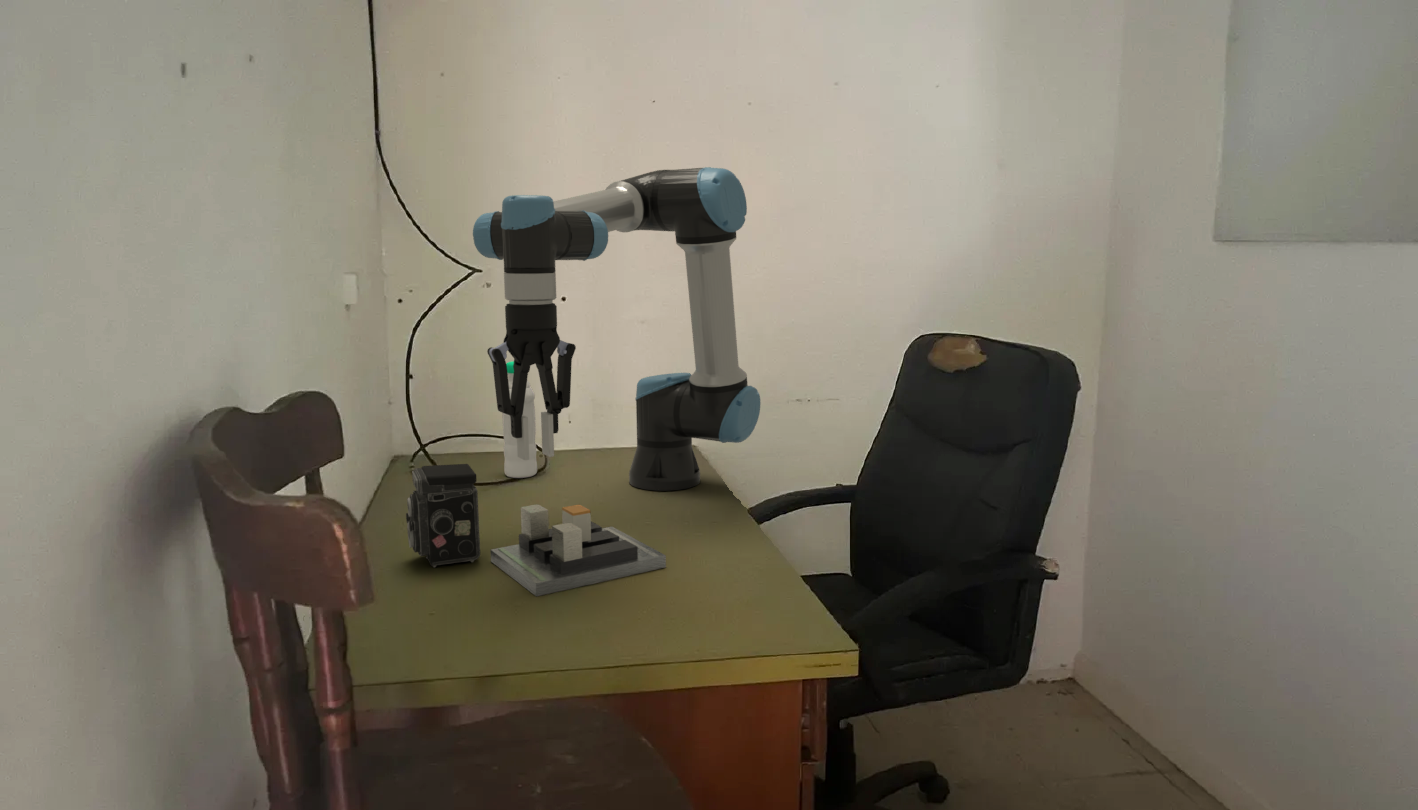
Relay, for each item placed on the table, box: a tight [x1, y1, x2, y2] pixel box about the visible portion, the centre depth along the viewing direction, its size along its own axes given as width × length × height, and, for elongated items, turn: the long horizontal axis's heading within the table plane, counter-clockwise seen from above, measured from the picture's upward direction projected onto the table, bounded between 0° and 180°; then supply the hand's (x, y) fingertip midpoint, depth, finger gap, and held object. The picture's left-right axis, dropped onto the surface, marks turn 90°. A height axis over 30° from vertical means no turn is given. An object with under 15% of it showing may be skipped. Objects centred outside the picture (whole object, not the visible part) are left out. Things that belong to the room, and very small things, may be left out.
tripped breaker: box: [561, 503, 592, 542], centre depth 149 cm, size 3×4×5 cm
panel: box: [490, 504, 667, 597], centre depth 149 cm, size 22×18×8 cm
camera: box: [405, 463, 481, 568], centre depth 151 cm, size 10×10×15 cm
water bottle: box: [501, 360, 538, 479], centre depth 204 cm, size 7×7×25 cm
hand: (535, 456), depth 143 cm, fingers open, 3 cm apart
